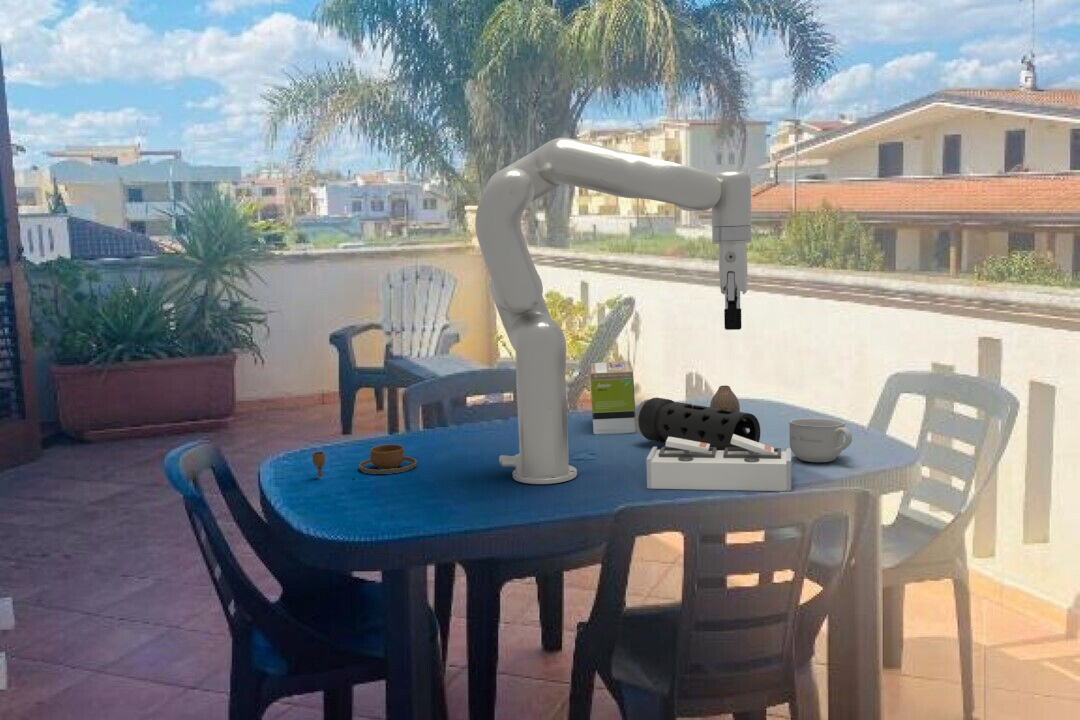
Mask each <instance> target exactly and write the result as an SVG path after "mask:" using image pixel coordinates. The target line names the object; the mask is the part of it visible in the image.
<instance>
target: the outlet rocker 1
mask: <svg viewBox="0 0 1080 720" xmlns="http://www.w3.org/2000/svg"><path fill="white" fill-rule="evenodd" d="M664 447H673V448H678V449H683V451H684V453H689V451H695V452H700V453H706V454H708V451H709V447H710V444H708V443H702V442H697V441H691V440H686V439H680V438H675V437H669V436H668V438H667V440H666V442H665V445H664Z"/></svg>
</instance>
